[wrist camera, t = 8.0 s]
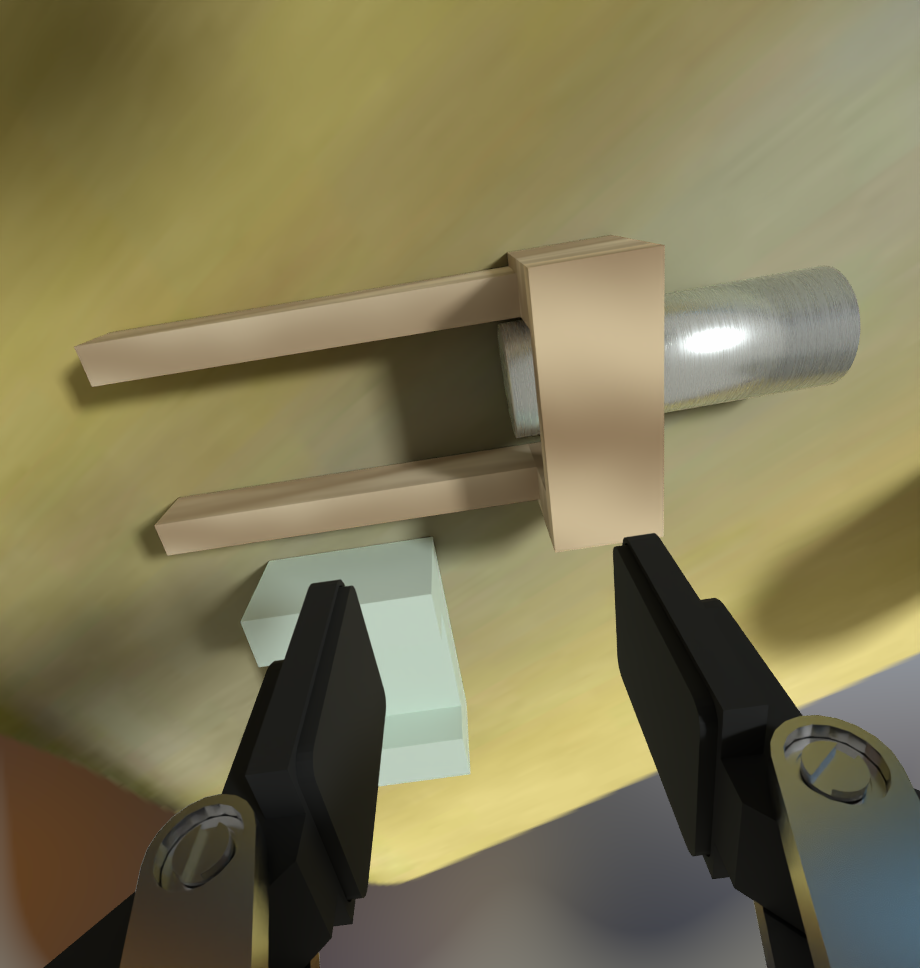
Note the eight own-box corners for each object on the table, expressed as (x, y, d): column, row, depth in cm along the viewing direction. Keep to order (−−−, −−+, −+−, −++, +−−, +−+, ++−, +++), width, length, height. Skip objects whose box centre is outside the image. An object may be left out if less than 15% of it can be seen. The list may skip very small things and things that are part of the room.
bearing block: (104, 319, 23) (4, 354, 18) (610, 235, 22) (664, 245, 17) (194, 535, 27) (135, 614, 22) (619, 470, 26) (663, 536, 21)
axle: (511, 429, 25) (521, 447, 21) (495, 326, 24) (502, 321, 20) (791, 381, 24) (861, 388, 20) (786, 273, 24) (859, 256, 19)
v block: (268, 561, 28) (240, 621, 24) (432, 536, 28) (431, 593, 24) (326, 722, 33) (310, 795, 29) (466, 702, 32) (470, 773, 28)
